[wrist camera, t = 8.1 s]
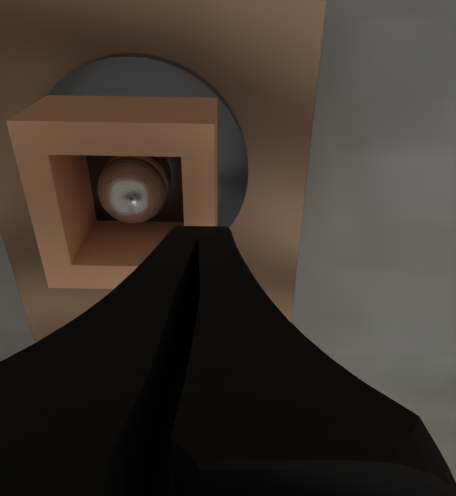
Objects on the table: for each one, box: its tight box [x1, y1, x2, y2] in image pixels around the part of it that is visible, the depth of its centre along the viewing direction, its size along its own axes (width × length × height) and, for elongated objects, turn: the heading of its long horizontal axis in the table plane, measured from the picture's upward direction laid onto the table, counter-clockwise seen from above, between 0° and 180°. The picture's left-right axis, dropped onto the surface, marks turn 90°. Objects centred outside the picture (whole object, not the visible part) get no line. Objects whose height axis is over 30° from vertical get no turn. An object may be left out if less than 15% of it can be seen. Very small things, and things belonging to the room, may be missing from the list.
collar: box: [6, 95, 218, 289], centre depth 14 cm, size 5×5×3 cm
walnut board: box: [0, 0, 326, 343], centre depth 19 cm, size 20×12×2 cm, turn 179°
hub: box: [46, 53, 248, 228], centre depth 14 cm, size 8×8×3 cm
